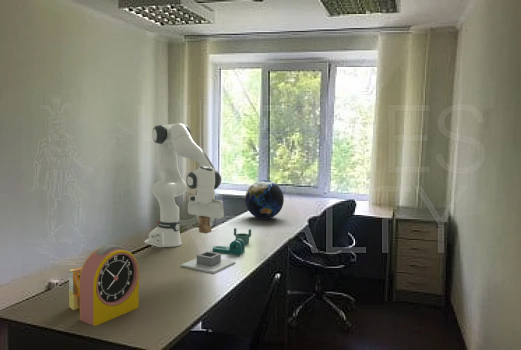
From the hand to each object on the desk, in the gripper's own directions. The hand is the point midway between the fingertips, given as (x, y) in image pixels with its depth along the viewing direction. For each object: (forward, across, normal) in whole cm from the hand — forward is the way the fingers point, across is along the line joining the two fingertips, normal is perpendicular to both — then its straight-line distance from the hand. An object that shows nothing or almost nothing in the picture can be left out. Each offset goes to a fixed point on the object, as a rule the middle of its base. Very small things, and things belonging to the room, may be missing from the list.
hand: (205, 225), depth 235 cm
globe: (+21, +31, -122) cm, 127 cm away
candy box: (+21, +9, +69) cm, 73 cm away
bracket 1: (+22, +4, -28) cm, 35 cm away
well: (+21, -1, -2) cm, 21 cm away
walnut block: (+4, 0, 0) cm, 4 cm away
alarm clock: (+21, -5, +68) cm, 71 cm away
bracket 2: (+21, +7, -50) cm, 55 cm away
